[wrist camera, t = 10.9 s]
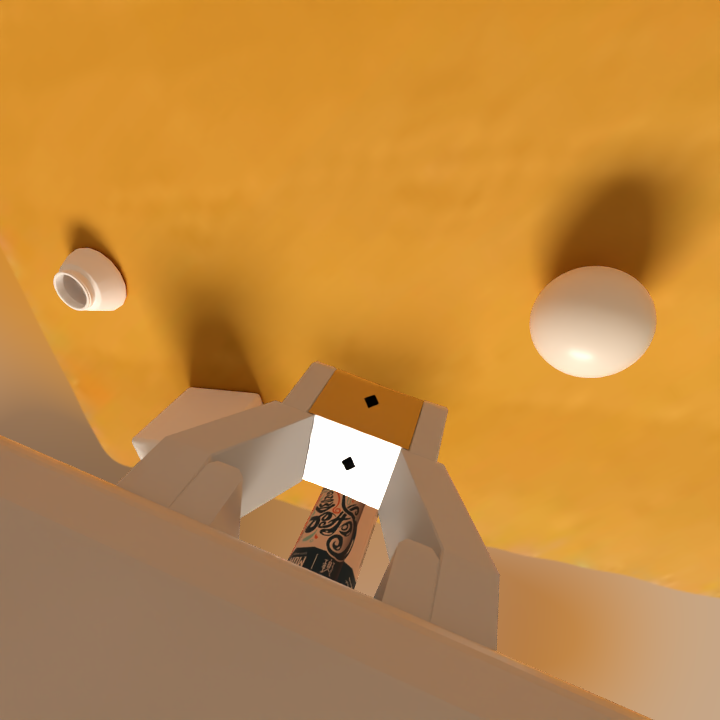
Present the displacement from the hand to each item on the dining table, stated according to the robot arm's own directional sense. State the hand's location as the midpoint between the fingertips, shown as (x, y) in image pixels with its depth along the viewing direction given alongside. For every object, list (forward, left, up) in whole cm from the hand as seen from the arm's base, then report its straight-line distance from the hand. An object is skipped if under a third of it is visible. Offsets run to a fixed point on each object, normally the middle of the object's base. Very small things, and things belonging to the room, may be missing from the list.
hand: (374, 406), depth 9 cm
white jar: (+12, -25, -18) cm, 33 cm away
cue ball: (+2, +8, -14) cm, 16 cm away
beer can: (+22, -1, -17) cm, 28 cm away
